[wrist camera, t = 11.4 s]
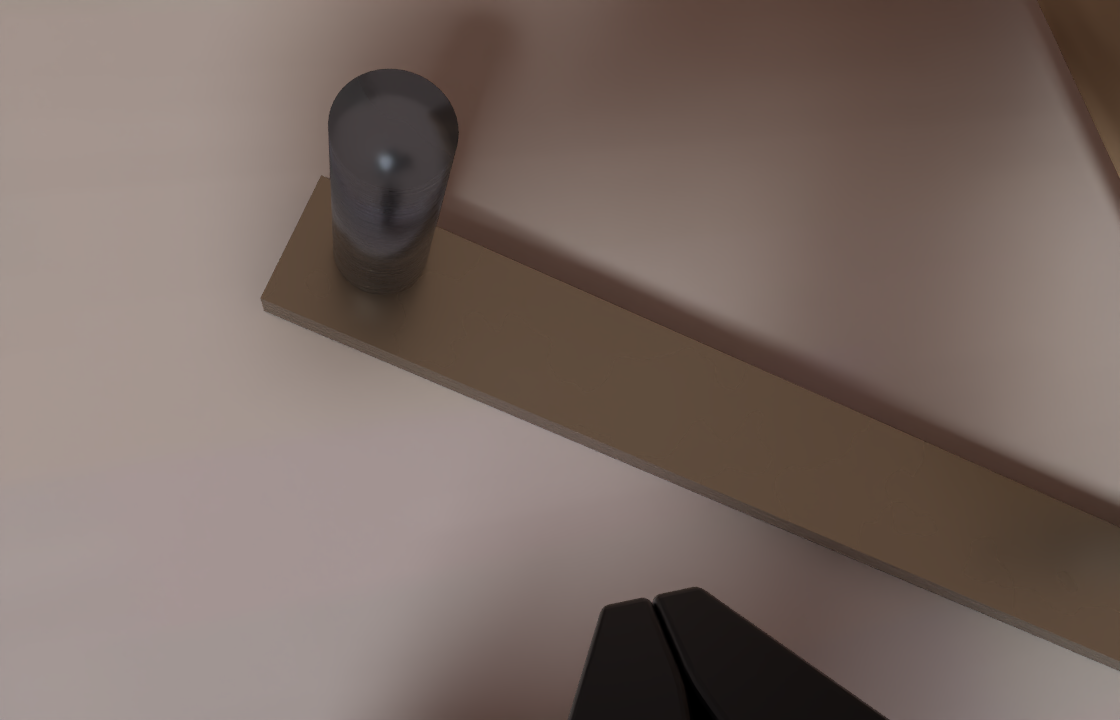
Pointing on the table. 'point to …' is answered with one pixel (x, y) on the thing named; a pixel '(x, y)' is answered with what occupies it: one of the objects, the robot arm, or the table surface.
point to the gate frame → (664, 388)
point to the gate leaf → (1092, 59)
